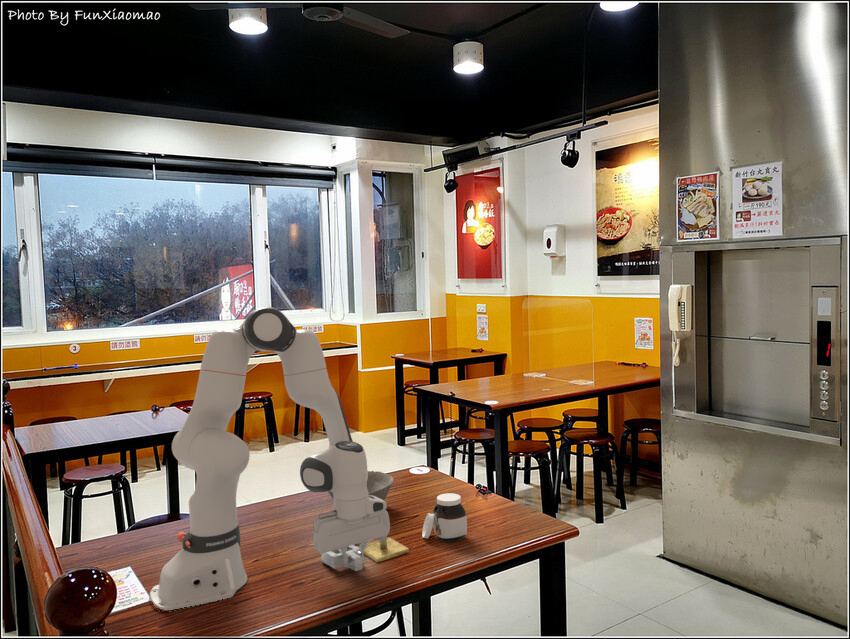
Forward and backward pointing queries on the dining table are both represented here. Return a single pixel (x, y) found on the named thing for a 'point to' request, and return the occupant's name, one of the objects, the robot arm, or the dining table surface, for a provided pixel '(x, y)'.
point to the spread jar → (447, 519)
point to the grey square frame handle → (336, 558)
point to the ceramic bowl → (377, 484)
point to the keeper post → (384, 549)
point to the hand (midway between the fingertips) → (353, 560)
